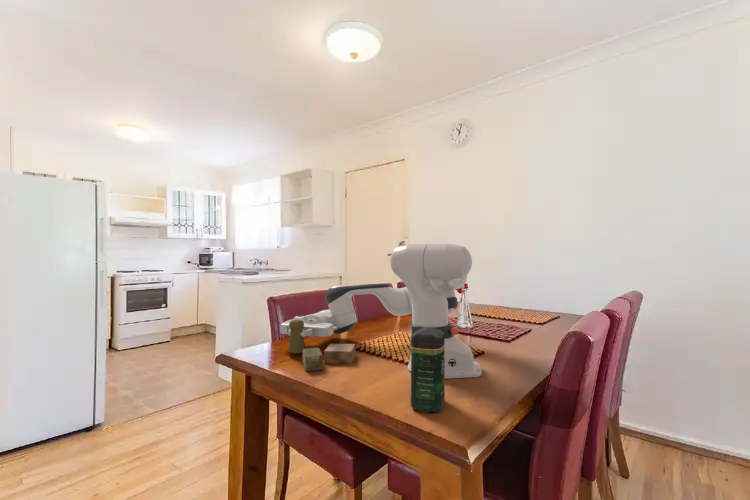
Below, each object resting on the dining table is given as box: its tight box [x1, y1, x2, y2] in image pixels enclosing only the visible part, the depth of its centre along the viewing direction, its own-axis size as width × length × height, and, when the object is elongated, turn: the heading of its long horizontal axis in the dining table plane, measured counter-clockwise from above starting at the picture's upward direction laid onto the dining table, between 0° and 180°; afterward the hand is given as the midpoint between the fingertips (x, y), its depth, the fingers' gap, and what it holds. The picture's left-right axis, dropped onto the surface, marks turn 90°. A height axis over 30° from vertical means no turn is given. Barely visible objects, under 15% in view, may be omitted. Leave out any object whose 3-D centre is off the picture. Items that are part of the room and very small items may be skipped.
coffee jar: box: [410, 327, 446, 413], centre depth 90 cm, size 10×8×19 cm
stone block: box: [301, 347, 324, 372], centre depth 120 cm, size 6×12×5 cm, turn 17°
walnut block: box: [323, 343, 356, 365], centre depth 127 cm, size 9×9×4 cm
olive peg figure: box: [287, 319, 306, 354], centre depth 132 cm, size 6×6×11 cm
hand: (295, 333), depth 131 cm, fingers closed on olive peg figure, 3 cm apart
